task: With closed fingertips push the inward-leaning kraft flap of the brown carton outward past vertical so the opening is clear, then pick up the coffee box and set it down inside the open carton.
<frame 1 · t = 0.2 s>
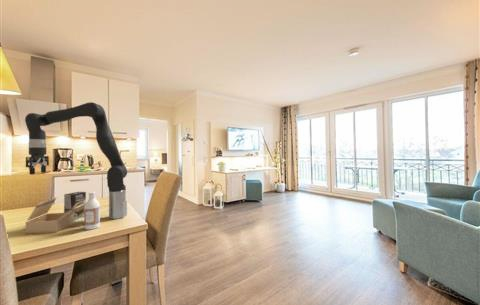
hand: (38, 173, 121), 29 cm above the table, fingers open, 8 cm apart
coffee box: (75, 218, 126), on the table
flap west: (74, 209, 112), point 9 cm above the table, hinge at 55.0°
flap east: (42, 208, 110), point 11 cm above the table, hinge at -30.0°
carton: (51, 227, 111), on the table
bath foam: (92, 227, 111), on the table
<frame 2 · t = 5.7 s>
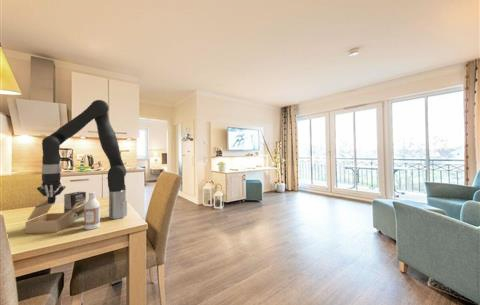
hand: (51, 203, 110), 14 cm above the table, fingers closed
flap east: (42, 208, 110), point 11 cm above the table, hinge at -29.9°, touching gripper
everything else where it was.
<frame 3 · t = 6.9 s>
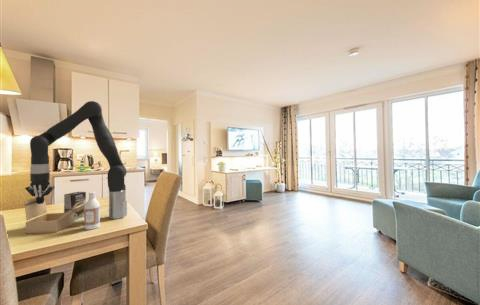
hand: (40, 203, 109), 14 cm above the table, fingers closed
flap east: (36, 207, 109), point 12 cm above the table, hinge at 5.0°, touching gripper
everything else where it was.
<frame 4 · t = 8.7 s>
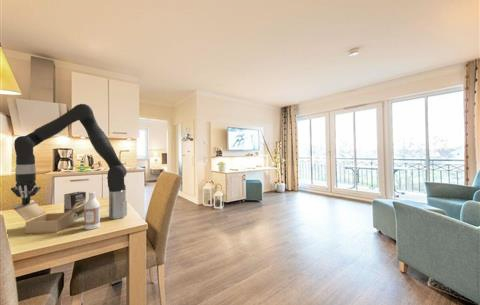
hand: (26, 204, 108), 14 cm above the table, fingers closed
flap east: (29, 209, 109), point 11 cm above the table, hinge at 40.2°, touching gripper
everything else where it was.
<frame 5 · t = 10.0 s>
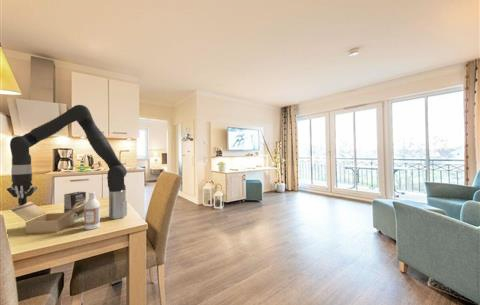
hand: (22, 204, 108), 13 cm above the table, fingers closed
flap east: (28, 210, 109), point 10 cm above the table, hinge at 47.7°, touching gripper
everything else where it was.
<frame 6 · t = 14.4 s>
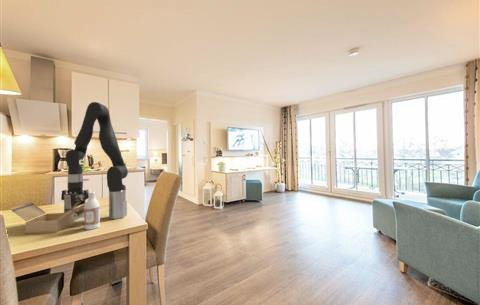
hand: (75, 206, 126), 7 cm above the table, fingers open, 8 cm apart
coffee box: (75, 218, 126), on the table, touching gripper
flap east: (28, 210, 109), point 10 cm above the table, hinge at 47.8°
everything else where it was.
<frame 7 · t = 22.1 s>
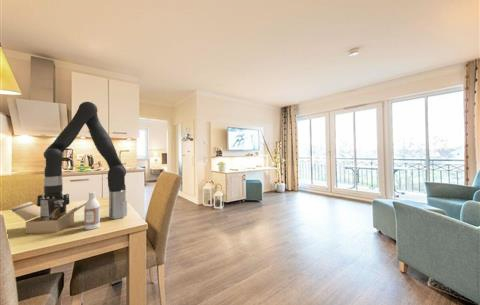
hand: (53, 213, 111), 8 cm above the table, fingers open, 8 cm apart
coffee box: (54, 227, 111), resting on carton
everything else where it was.
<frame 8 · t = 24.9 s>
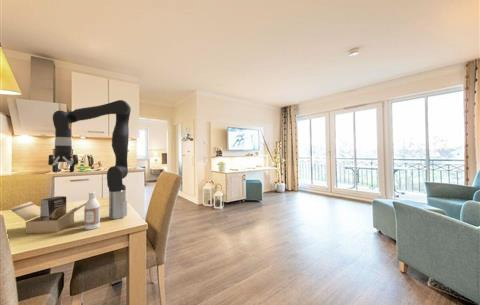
hand: (63, 172, 118), 30 cm above the table, fingers open, 8 cm apart
nothing on the table moved.
at the end: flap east at +48° (first picture: -30°); coffee box inside the target area on the carton (1.0 cm from its centre), point 0.3 cm above the carton's base; coffee box tilted 0° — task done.
